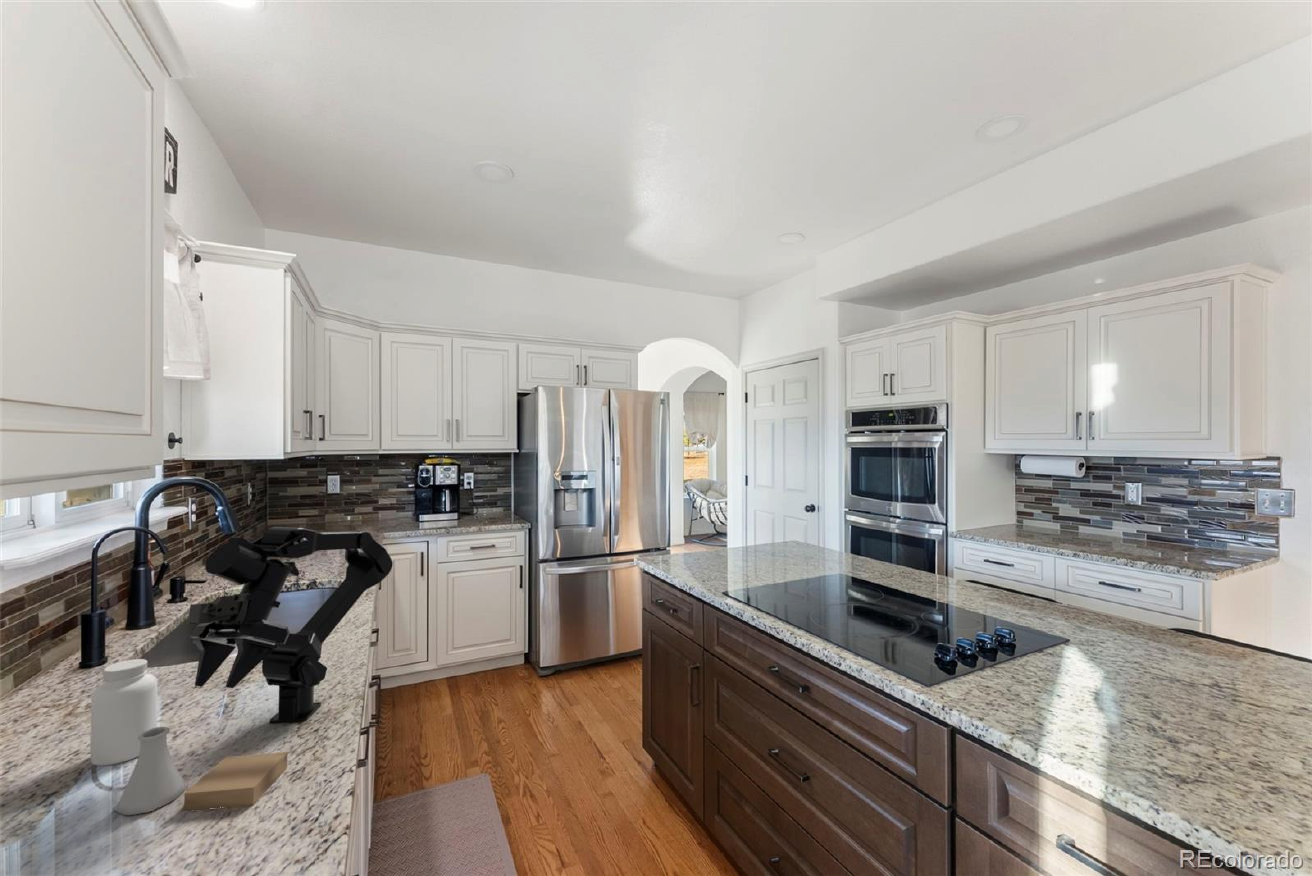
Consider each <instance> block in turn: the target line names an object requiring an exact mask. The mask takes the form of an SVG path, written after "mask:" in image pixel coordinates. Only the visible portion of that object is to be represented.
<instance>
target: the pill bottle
mask: <svg viewBox="0 0 1312 876" xmlns="http://www.w3.org/2000/svg"><path fill="white" fill-rule="evenodd" d="M102 679H103V680H102V682H103V683H102V684H101V685H99V686H97V687H96V688H95V689H94V690H93V692H92V694H91V698H90V699H91V700H90V745H89V746H90V750H89V752H90V762H91V764H93V765H95V766H99V767H100V766H110V765H116V764H119V763H121V764H122V763H123V762H124V763H125V762H126V761H127V762H128V761H130V760H132V759H135V758H138V756H139V753H140V745H141V742H140V740H138V736H139V735H140V734H142V733H143V732H145V731H147V730H150V729H152V728H157V727H158V680H157V678H156V676H155V675H153V674H150V673H148V660H147V659H144V658H138V659H135V658H134V659H129V660H124V661H119V662H117V663H114V664H110V665H108V666H106V667H105V668H104V669H103V670H102Z"/></svg>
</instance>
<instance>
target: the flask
mask: <svg viewBox="0 0 1312 876" xmlns="http://www.w3.org/2000/svg"><path fill="white" fill-rule="evenodd" d="M170 730H171V729H170V728H169V727H168V726H157V728H152V729H150V730H147V731H145V732H143V733H142V734H140V735H139V736H138V740H140V742H141V745H140V753H139V756H138V757H137V761H136V764H135V766H134V769H133V770H132V773H131V775H130V777H129V780H128V782H127V785H126V786H125V788H124V790H123V792H122V794H121V796H120V798H119V800H118V803H117V804H116V806H115V809H114V811H115V812H117V813H119V814H122V815H124V816H132V815H138V814H144V813H151V812H150V811H152V812H153V811H155V809H156V808H157V809H159V808H161V807H163V806H165V805H167V804H170V803H171V802H173V801H174V800H176V799H177V798H178V797H179V796H180V795H181V794H182V793H183V792H184V791H185V790H186V788H188V787H187V784H186V782H185V781H184V779H183V777H182V776H181V774H180V771H178V768H177V766H176V764H175V762H174V761H173V758H172V756H171V755H170V752H169V748H168V747H169V746H168V743H167V742H168V741H167V735H168V733H169V732H170ZM158 807H159V808H158ZM157 809H156V810H157Z"/></svg>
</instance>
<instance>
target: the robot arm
mask: <svg viewBox="0 0 1312 876" xmlns="http://www.w3.org/2000/svg"><path fill="white" fill-rule="evenodd" d="M333 550H334V551H335V550H345V551H344V552H345V553H344V560H345V562H346V563H347V564H348V565H346V566H347V567H346V569H345V578H344V579H343V581H342V582H341V583H340V584H339V585H338V586H337V588H336V589H335V590H334V591H333V592H332V593H331V595H330V596H329V597H328V598H327V599H326V601H324V603H323V604H322V605H321V606H320V607H319V608H318V610H317V611H315V613H314V614H313V616H311V617H310V619H309V620H308V621H307V623H305V624H304V626H303V627H302V628H300V630H299V631H297V632H295V633H290V630H289V628H288V625H284V624H279V623H277V622H276V623H275V622H272V621H270V620H269V621H268V619H269V616H270V614H271V613H272V610H273V609H279V607H280V605H281V601H277V600H278V597H279V595H280V594H281V592H282V589H283V587H284V585H285V584H286V581H287V579H288V577H298V576H299V575H300V572H299V569H298V568H297V566H296V562H295V561H282V560H280V559H281V558H282V559H283V558H284V559H285V558H286V559H300V558H304V557H307V556H311V555H312V554H314V553H316V552H319V551H333ZM359 550H361V551H359ZM268 558H271V559H268ZM276 558H279V559H276ZM393 563H394V561H393V560H392V558H391V556H390V553H388V551H387V549H386V548H385V547H384V546H382V545H381V544H380V543H379V542H377V541H376V540H375V538H373V536H372V534H371V533H370V532H368V531H365V530H352V529H351V530H348V531H316V530H314V529H308V528H303V527H288V526H287V527H286V526H285V527H284V526H283V527H282V526H274V527H270V528H267V530H266V532H265V533H264V534H263V535H262V536H260V537H258V538H256V539H255V540H253V541H252V542H249V541H248V540H247V539H245V538H244V537H242V536H230V538H229V539H228V541H227V542H226V543H223V544H221V545H220V546H218V547H217V548H215V550H214V551H213V552H211V553H210V554H209V555H208V556H207V558H206V561H205V565H204V567H205V571H206V572H207V573H208V574H210V575H213V576H216V577H218V578H220V579H222V580H226V581H228V582H231V583H233V584H236V585H238V586H240V585H242V588H241V591H240V592H239V593H235V594H233V595H225V596H217V597H216V598H215V599H214V601H213V602H207V603H194V604H193V603H192V604H190V605H189V612H188V619H187V624H188V625H191V624H196V625H195V627H194V628H193V630H192V632H191V634H190V636H189V637H190V638H192V643H193V644H195V645H196V647H197V649H198V650H199V656H198V657H199V658H198V664H197V670H196V675H195V680H194V686H196V687H200V688H201V687H203V686H204V685H206V683H207V682H208V681H209V680H210V679H211V678H212V676H213V675H214V674H215V673H216V671H218V669H219V668H220V667H221V666H222V665H223V663H224V662H225V661H226V659H227V658H228V657H229V656H230V655H231V654H232V652H233V651H234V650H235V649H236V648H237V654H236V656H235V659H234V661H233V664H232V667H231V669H230V672H229V674H228V677H227V681H226V684H225V687H226V688H228V689H229V688H230V689H234V688H235V687H236V686H238V684H239V683H240V682H241V681H243V680H244V678H246V676H247V675H249V674H250V673H251V672H252V671H253V670H254V669H255V668H256V667H257V666H258V665H259V664H260V663H262V664H261V673H262V675H263V677H264V678H265V679H266V683H267V686H276V687H278V711H277V713H275V715H273V716H272V717H271V718H270V719H269V724H273V723H274V724H275V723H289V722H290V723H291V722H304V721H306V720H308V719H309V718H310V717H311V716H312V715H313V714H314V713H315V712H316V711H317V709H319V708H321V706H322V702H319V701H318V702H314V700H315V697H314V695H315V686H318V685H320V682H321V681H323V680H325V678H326V674H327V670H328V667H327V666H326V665H324V664H323V663H321V662H320V659H321V657H322V656H321V655H322V647H323V646H322V645H323V644H324V642H325V641H326V639H327V638H328V637H329V636H330V635H331V633H333V631H334V629H335V628H336V627H337V626H338V625H339V624H340V622H341V621H342V620H343V619H344V618H345V616H346V615H347V613H348V612H349V611H350V609H351V608H352V607H353V606H354V605H355V604H356V602H357V601H358V600H359V599H360V597H361V596H362V595H363V594H364V592H365V591H367V590H369V589H370V588H373V587H374V586H376V585H379V584H380V583H381V582H382V581H383V580H384V579H386V577H387V576H388V575H390V573H391V571H392V569H393ZM233 645H235V646H233Z"/></svg>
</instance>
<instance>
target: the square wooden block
mask: <svg viewBox="0 0 1312 876" xmlns="http://www.w3.org/2000/svg"><path fill="white" fill-rule="evenodd" d="M287 769H288V752H274V753H261V754H247V755H235V756H233V755H232V756H225V757H224V758H223V759H222V760H221V761H220V762H219V763H217V764H216V765H215V766H214V767H213V768H211V769H210V770H209V771H208V772H207V773H206V774H205V775H204V776H202V778H200V779H199V780H198V781H197V782H195V784H194V785H192V786H191V787H190V788H189V789H188V790H186V792H184V794H183V795H184V797H183V799H184V801H183V802H184V803H183V812H184V811H188V812H196V811H195V810H199V811H205V810H204V809H210V808H220V807H221V808H222V807H233V808H239V807H240V808H241V807H242V808H243V807H252V806H255V805H256V804H257V802H258V801H259V800H260V799H261V798H262V797H263V796H264V795H265V794H266V793H267V791H268V790H269V789H270V788H271V787H272V785H274V783H276V781H278V779H279V778H280V777H281V775H283V774H284V772H285V771H286V770H287ZM222 809H223V808H222ZM192 810H194V811H192ZM210 810H211V809H210Z"/></svg>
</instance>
